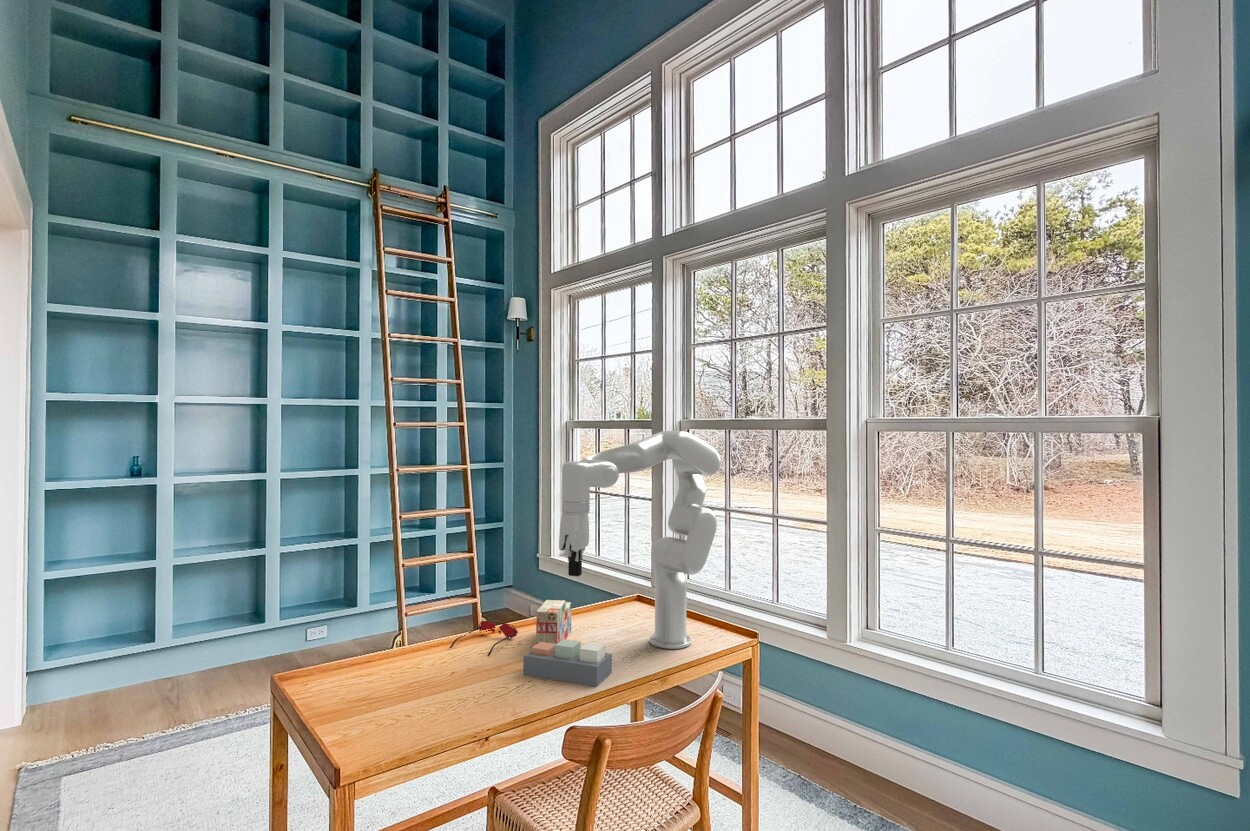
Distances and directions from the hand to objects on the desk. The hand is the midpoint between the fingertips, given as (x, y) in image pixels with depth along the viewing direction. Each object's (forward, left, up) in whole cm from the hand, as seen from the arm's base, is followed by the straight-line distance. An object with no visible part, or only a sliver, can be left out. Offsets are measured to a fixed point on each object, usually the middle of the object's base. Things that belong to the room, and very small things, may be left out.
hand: (575, 575), depth 179 cm
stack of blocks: (-18, -15, -26) cm, 34 cm away
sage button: (+4, 0, -22) cm, 22 cm away
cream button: (+4, +7, -22) cm, 24 cm away
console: (+4, 0, -25) cm, 25 cm away
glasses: (-8, -33, -26) cm, 43 cm away
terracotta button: (+4, -7, -24) cm, 25 cm away
